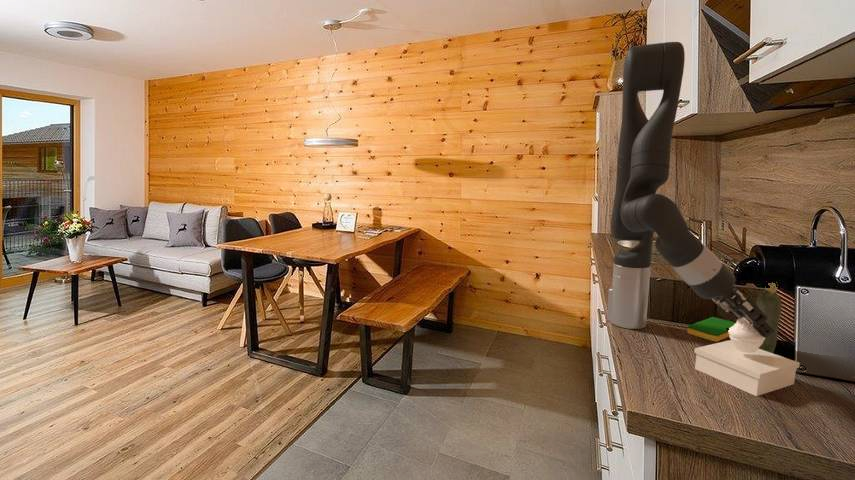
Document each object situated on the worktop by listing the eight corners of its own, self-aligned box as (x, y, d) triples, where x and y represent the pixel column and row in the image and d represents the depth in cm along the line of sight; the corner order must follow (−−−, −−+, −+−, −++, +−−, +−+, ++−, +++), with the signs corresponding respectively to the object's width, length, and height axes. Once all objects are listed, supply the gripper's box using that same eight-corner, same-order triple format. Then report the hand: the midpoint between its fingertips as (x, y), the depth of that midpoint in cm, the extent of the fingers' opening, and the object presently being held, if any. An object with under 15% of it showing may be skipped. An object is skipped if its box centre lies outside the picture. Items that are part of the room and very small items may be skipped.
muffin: (744, 356, 80) (747, 322, 79) (719, 345, 86) (721, 313, 86) (772, 355, 81) (775, 321, 80) (745, 344, 87) (748, 312, 86)
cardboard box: (692, 369, 88) (694, 348, 87) (730, 360, 93) (732, 339, 92) (756, 398, 77) (760, 374, 76) (796, 386, 81) (799, 362, 80)
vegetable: (778, 365, 89) (790, 278, 86) (756, 364, 90) (767, 277, 87) (766, 357, 93) (777, 273, 90) (745, 355, 94) (755, 272, 91)
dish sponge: (686, 334, 108) (687, 325, 108) (712, 324, 115) (712, 316, 115) (716, 343, 102) (717, 334, 102) (741, 332, 109) (742, 324, 109)
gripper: (740, 266, 74) (801, 329, 75) (697, 251, 88) (748, 305, 89) (707, 292, 76) (766, 355, 76) (669, 274, 90) (720, 327, 90)
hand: (756, 328), depth 83 cm, fingers open, 6 cm apart
